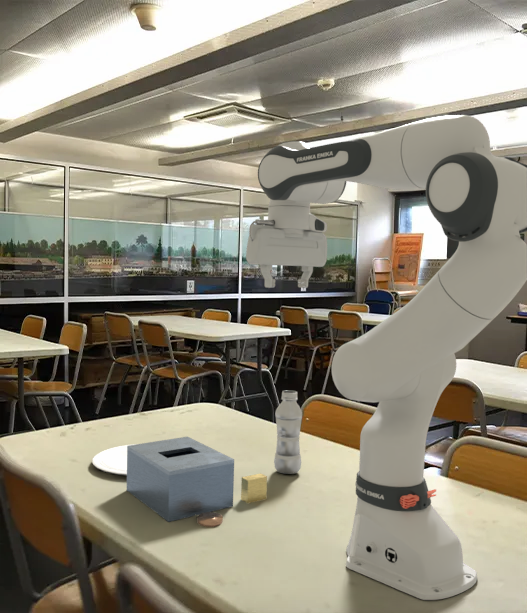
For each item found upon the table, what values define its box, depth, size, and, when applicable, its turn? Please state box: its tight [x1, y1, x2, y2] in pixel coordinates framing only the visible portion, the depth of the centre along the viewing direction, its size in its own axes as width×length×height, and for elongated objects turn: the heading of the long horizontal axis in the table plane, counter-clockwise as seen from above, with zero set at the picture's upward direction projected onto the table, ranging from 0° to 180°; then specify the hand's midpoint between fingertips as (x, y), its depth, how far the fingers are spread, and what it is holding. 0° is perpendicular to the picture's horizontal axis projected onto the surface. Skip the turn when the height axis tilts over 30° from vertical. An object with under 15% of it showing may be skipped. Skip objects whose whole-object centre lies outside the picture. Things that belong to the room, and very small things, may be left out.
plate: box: [91, 443, 137, 477], centre depth 155 cm, size 25×25×2 cm
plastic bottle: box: [273, 390, 303, 475], centre depth 151 cm, size 6×7×20 cm
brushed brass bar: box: [240, 472, 268, 504], centre depth 134 cm, size 2×5×5 cm, turn 126°
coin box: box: [126, 436, 235, 523], centre depth 133 cm, size 20×15×10 cm
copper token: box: [196, 511, 224, 528], centre depth 122 cm, size 5×5×1 cm
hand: (286, 287), depth 131 cm, fingers open, 8 cm apart
